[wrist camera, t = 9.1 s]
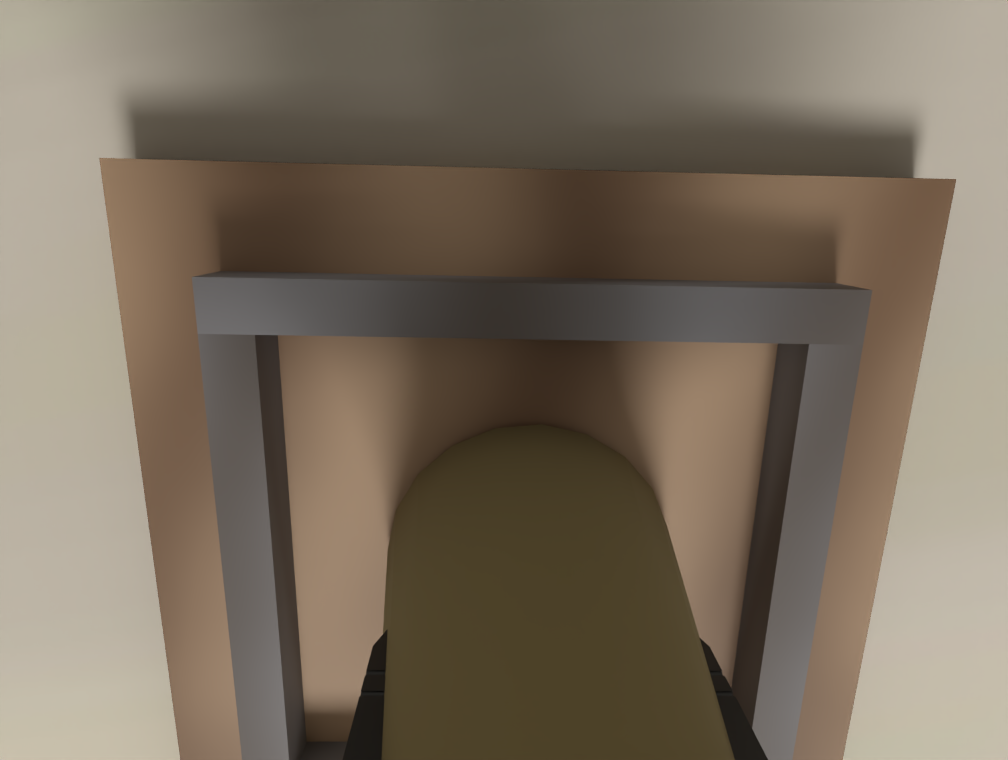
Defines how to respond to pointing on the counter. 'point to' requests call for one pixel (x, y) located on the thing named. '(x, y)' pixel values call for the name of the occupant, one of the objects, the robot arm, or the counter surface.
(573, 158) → the counter surface
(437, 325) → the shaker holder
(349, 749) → the robot arm
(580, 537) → the cork
